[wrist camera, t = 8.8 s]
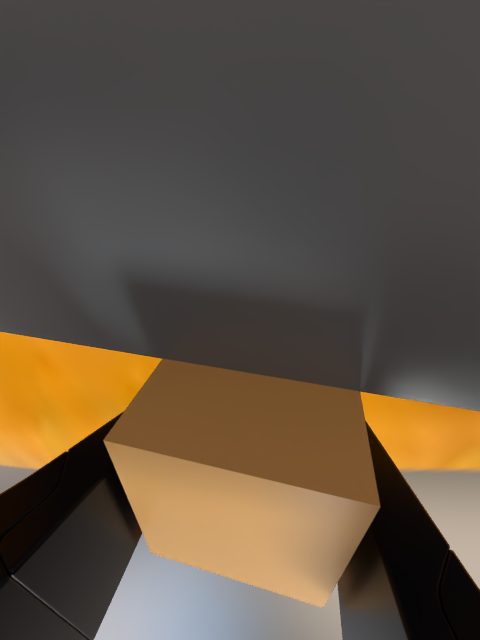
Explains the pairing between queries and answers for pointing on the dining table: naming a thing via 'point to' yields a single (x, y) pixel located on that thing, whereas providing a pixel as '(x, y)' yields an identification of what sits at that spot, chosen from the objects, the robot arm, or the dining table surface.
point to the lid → (248, 248)
